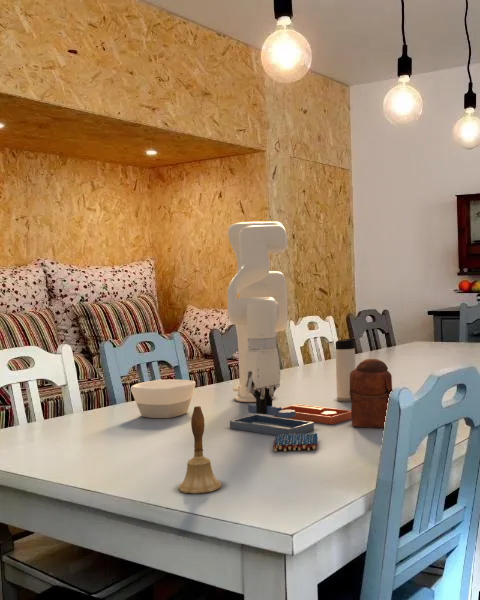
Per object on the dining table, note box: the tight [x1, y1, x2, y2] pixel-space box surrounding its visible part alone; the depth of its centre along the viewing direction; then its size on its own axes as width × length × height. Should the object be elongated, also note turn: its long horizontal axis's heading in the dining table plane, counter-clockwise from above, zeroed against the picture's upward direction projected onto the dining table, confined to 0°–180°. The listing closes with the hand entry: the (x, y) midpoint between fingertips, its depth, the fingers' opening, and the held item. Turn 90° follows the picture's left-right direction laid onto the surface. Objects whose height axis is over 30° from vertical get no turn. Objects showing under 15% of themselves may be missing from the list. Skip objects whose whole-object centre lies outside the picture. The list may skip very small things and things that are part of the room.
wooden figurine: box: [350, 358, 393, 429], centre depth 192 cm, size 12×6×18 cm, turn 75°
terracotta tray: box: [274, 403, 352, 425], centre depth 207 cm, size 21×10×2 cm, turn 50°
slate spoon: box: [247, 403, 295, 419], centre depth 193 cm, size 16×5×2 cm, turn 50°
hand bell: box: [178, 405, 222, 494], centre depth 142 cm, size 8×8×16 cm
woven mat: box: [272, 432, 319, 452], centre depth 173 cm, size 10×11×2 cm
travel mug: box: [335, 337, 357, 403], centre depth 232 cm, size 6×7×20 cm
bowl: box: [130, 379, 196, 419], centre depth 219 cm, size 18×18×9 cm
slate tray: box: [229, 413, 315, 437], centre depth 193 cm, size 21×10×2 cm, turn 50°
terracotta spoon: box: [290, 404, 337, 417], centre depth 207 cm, size 16×5×2 cm, turn 50°
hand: (264, 412), depth 195 cm, fingers closed on slate spoon, 1 cm apart
